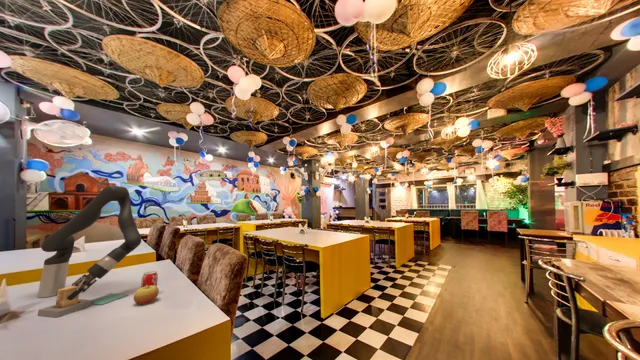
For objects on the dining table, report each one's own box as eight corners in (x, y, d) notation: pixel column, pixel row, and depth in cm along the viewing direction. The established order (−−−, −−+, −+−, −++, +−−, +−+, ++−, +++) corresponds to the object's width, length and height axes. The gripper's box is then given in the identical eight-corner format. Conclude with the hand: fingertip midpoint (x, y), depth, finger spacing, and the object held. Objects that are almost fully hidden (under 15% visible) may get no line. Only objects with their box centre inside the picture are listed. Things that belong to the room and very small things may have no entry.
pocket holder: (37, 315, 94) (38, 309, 94) (73, 304, 105) (73, 298, 106) (57, 317, 91) (58, 311, 92) (91, 305, 103) (92, 300, 104)
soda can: (149, 297, 111) (151, 274, 113) (136, 298, 112) (138, 274, 113) (159, 292, 118) (161, 270, 120) (147, 292, 118) (149, 270, 120)
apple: (152, 305, 102) (153, 288, 104) (128, 308, 100) (130, 290, 101) (161, 297, 112) (162, 281, 113) (139, 299, 109) (141, 283, 110)
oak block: (54, 312, 96) (58, 289, 98) (69, 307, 101) (72, 286, 103) (62, 313, 96) (66, 290, 97) (76, 308, 100) (80, 286, 102)
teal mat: (83, 303, 105) (83, 302, 105) (110, 294, 117) (110, 293, 117) (102, 305, 103) (102, 303, 103) (128, 295, 115) (128, 294, 115)
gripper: (92, 261, 112) (54, 291, 100) (101, 264, 105) (62, 296, 93) (104, 269, 116) (69, 298, 104) (114, 272, 109) (77, 304, 97)
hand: (66, 297), depth 99 cm, fingers open, 8 cm apart
